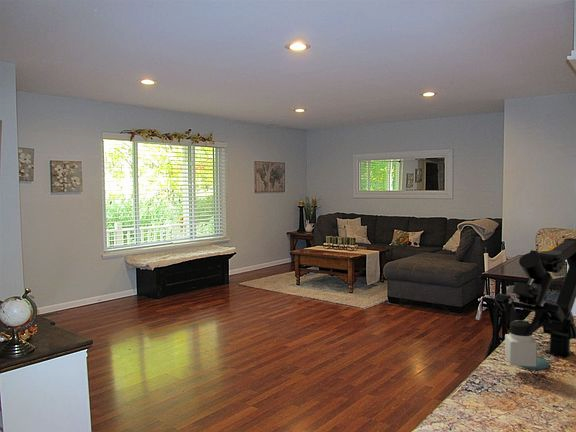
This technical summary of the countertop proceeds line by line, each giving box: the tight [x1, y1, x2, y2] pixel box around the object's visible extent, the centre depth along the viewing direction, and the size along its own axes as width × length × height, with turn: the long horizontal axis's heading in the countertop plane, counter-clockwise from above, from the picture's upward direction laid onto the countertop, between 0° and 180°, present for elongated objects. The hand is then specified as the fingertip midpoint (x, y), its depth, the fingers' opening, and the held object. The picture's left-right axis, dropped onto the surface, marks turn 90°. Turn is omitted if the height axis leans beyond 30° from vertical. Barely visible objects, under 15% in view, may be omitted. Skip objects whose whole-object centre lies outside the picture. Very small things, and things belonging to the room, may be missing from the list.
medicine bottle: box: [504, 319, 538, 367], centre depth 143 cm, size 7×7×12 cm
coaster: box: [519, 356, 550, 371], centre depth 151 cm, size 10×10×1 cm
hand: (517, 331), depth 142 cm, fingers closed on medicine bottle, 6 cm apart
